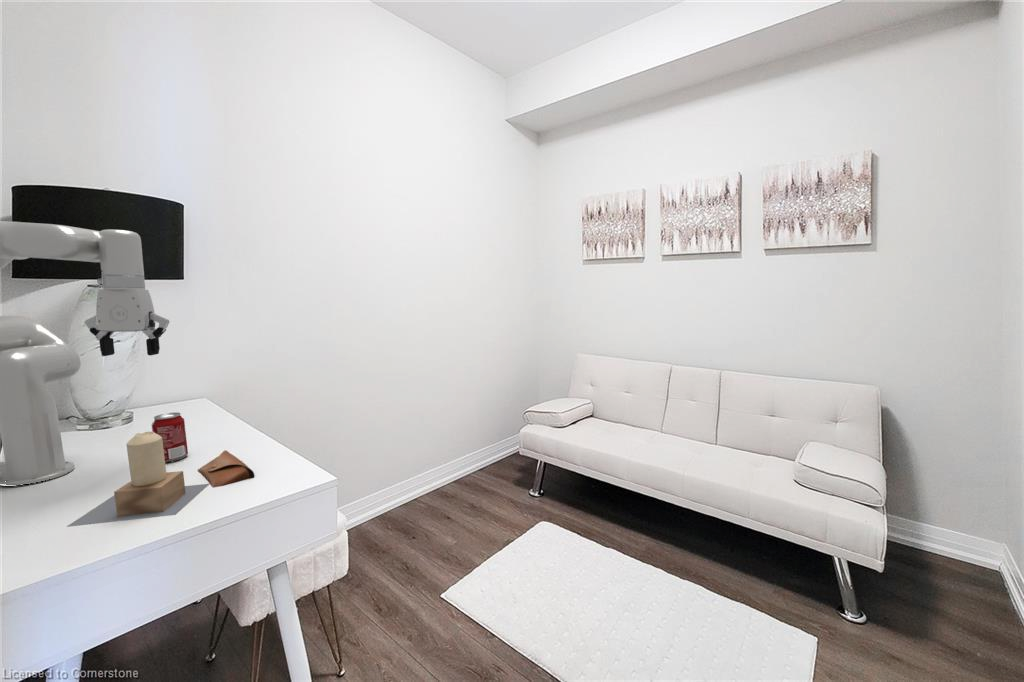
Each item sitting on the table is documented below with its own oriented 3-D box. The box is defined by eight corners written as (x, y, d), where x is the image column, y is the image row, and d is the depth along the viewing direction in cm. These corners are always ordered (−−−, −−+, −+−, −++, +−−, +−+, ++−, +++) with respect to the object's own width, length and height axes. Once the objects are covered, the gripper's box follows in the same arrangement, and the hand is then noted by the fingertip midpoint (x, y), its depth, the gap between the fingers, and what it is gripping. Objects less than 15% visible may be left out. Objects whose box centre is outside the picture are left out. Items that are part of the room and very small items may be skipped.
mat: (67, 529, 81) (66, 526, 81) (118, 495, 95) (118, 492, 95) (175, 517, 84) (175, 514, 84) (210, 486, 98) (209, 483, 98)
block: (117, 516, 84) (114, 491, 84) (143, 497, 92) (140, 474, 91) (164, 511, 86) (161, 487, 85) (185, 493, 94) (183, 470, 93)
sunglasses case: (191, 471, 107) (205, 445, 108) (221, 476, 112) (234, 451, 113) (213, 492, 95) (228, 462, 97) (245, 497, 100) (259, 469, 102)
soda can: (190, 458, 115) (185, 414, 114) (158, 466, 110) (152, 420, 109) (185, 452, 120) (180, 410, 118) (154, 459, 115) (148, 415, 113)
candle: (147, 487, 85) (140, 438, 84) (124, 485, 86) (117, 437, 85) (173, 475, 91) (168, 429, 89) (151, 474, 92) (146, 428, 90)
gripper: (68, 283, 97) (77, 358, 99) (154, 283, 100) (161, 356, 102) (95, 283, 105) (102, 353, 107) (174, 284, 108) (179, 352, 110)
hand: (131, 354), depth 104 cm, fingers open, 9 cm apart
